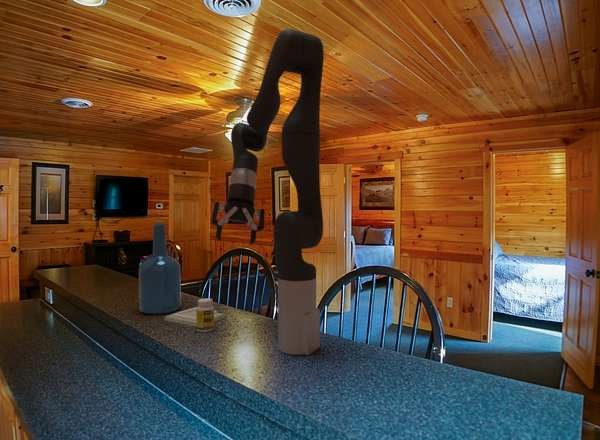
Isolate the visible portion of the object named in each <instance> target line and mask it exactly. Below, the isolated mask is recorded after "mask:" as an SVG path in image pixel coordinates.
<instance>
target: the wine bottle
mask: <svg viewBox="0 0 600 440" xmlns="http://www.w3.org/2000/svg"><path fill="white" fill-rule="evenodd" d="M151 235H152V237H153V238H152V254H150V255H148V256H147V257H145V258H144V259H143V260H140V262H139V265H138V266H139V267H138V296H139V297H138V301H139V302H138V303H139V304H138V305H139V306H138V307H139V311H140V312H141V313H143V314H147V315H164V314H169V313H174V312H176V311H178V310H180V308H181V306H182V299H181V295H182V294H181V293H182V291H181V288H182V286H181V285H182V284H181V264H180V263H179V261H178V260H177V259H175V258H174V257H171V256H170V255H169V254H168V253H167V229H166V224H164V220H155V221H154V224H153V226H152V234H151Z"/></svg>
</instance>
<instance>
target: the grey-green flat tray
mask: <svg viewBox="0 0 600 440" xmlns="http://www.w3.org/2000/svg"><path fill="white" fill-rule="evenodd" d="M196 309H197V306H196V307H192V308H188V309H185V310H182V311H177V312H175V313H172V314H169V315H166V316H164V321H166V322H171V323H174V324H175V323H176V324H181V325H185V326H191V327H195V328H197V316H196V315H197V314H196V313H197V312H196ZM223 319H225V313H220V312H218V310H214V323H215V322H217V321H220V320H223Z"/></svg>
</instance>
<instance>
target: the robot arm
mask: <svg viewBox="0 0 600 440" xmlns="http://www.w3.org/2000/svg"><path fill="white" fill-rule="evenodd" d="M324 52H325V51H324V45H323V42H322V40H321V39H320V38H319V37H318V36H316V35H314V34H311V33H307V32H304V31H299V30H297V29H294V28H293V29H291V28H284V29H283V30H281V31H280V32H279V34H278V35H277V37H276V39H275V41H274V43H273V46H272V50H271V52H270V55H269V58H268V62H267V65H266V67H265V71H264V73H263V77H262V82H261V83H260V86H259V87H260V88H259V91H258V93H257V95H256V97H255V99H254V101H253V103H252V104H251V107H250V109H249V111H248V112H247V116H246V122H247V123H244V122H238V123H236V124H235V125H234V126H233V127H232V129H231V133H230V141H231V146H232V151H233V152H232V153H233V163H232V169H231V175H230V179H229V183H228V191H227V198H226V203H225V204H223V203H220V202H219V201H216V202H214V206H213V210H212V215H211V219H210V223H211V225H212V226H215V227H216V231H215V239H217V242H221V240H222V239H221V238H222V232H223V226H225V225H226V224H227V223H228V222H229V221H231V222H232V223H239V224H246V225H247V227H248V228H249V229H250V233H249V234H250V237H249V243H248V244H249V245H248V246H253V244H255V243H256V240H257V238H256V237H257V233H261V232H263V230H264V229H265V228H264V227H265V214H266V212H265V209H264V208H261V209H255V207H254V205H255V199H256V190H257V174H258V173H257V172H258V167H259V166H258V164H259V159H258V157H257V155H256V154H254V153H252V152H255V153H258V152H262V150H264V149H265V147H266V145H267V139H268V134H269V130H270V128H271V125H272V124H273V122H274V120H275V119H276V116H277V115H278V114H279V111H280V109H281V108H280V107H281V94H280V88H279V81H280V78H281V77H282V76H283V74H284V73H285V72H287V73H291V74H296V75H300V91H299V95H298V97H297V98H298V99H297V100H296V102H295V104H294V106H293V107H292V109H291V110H290V112H289V114H288V115H287V117H286V119H285V121H284V122H283V125H282V127H281V157H282V161H283V163H284V166H285V168H286V170H287V173H288V174H289V177H290V178H291V180H292V182H293V184H294V187H295V190H296V197H297V210H294V211H293V210H288V211H283V212H281V213H278V215H277V217H276V218H275V221H274V225H273V245H274V247H273V248H274V249H273V250H274V263H275V266H276V270H277V305H278V308H277V310H278V311H277V312H278V314H277V316H278V318H277V319H278V320H277V323H278V324H277V327H278V328H277V329H278V331H277V332H278V333H277V335H278V336H277V337H278V339H277V340H278V343H277V344H278V350H279V351H280V352H281V353H284V354H286V355H294V356H299V355H303V356H310V355H311V354H313V353H314V352H315V351H317V350H318V349H320V348H321V345H320V344H321V339H320V338H321V336H320V331H321V325H320V324H321V323H320V322H321V314H320V313H321V310H320V308H318V307H317V268H316V265H314V264H312V263H309V262H307V261H305V259H304V258H303V251H302V250H305V249H307V250H308V249H314V248H315V247H317V246H318V245H319V244H320V242H321V241H322V238H323V236H324V235H323V234H324V218H323V208H322V197H321V182H320V181H321V177H320V176H321V173H320V172H321V171H320V168H321V167H320V166H321V165H320V161H321V160H320V159H321V157H320V156H321V129H320V128H321V127H320V125H321V122H320V121H321V120H320V119H321V117H320V113H321V94H322V93H321V92H322V81H323V71H324V58H325V57H324V55H325V54H324ZM222 210H224V212H225V214H224V215H223V217H222V218H221V219H220V220H218V219H217V218H218V214H219V213H220V212H222ZM254 215H256V218H258V225H256V224H255V221H254V219H253V218H252V217H253V216H254Z"/></svg>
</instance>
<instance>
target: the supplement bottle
mask: <svg viewBox="0 0 600 440" xmlns="http://www.w3.org/2000/svg"><path fill="white" fill-rule="evenodd" d="M213 302H214V301H213V299H212V298H206V297H205V298H200V299H197V306H196V308H197V309H196V312H197V313H196V314H197V315H196V316H197V327H196V331H197V332H200V333H201V332H202V333H206V332H212V331H213V330H214V328H215V322H214V311H215V307H214V306H213V305H214V304H213Z"/></svg>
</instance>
